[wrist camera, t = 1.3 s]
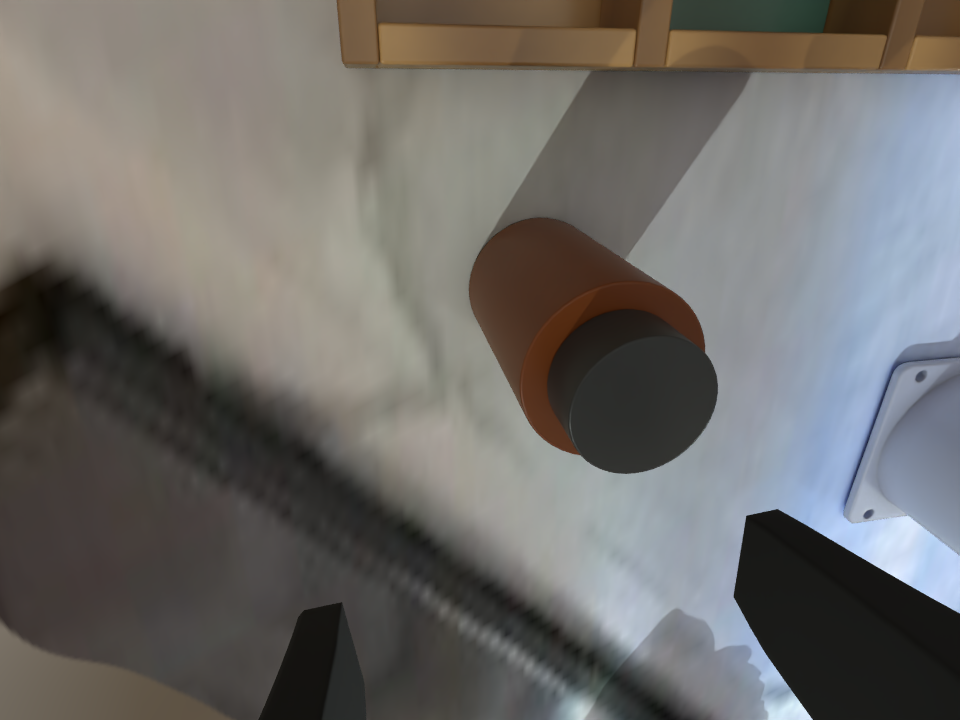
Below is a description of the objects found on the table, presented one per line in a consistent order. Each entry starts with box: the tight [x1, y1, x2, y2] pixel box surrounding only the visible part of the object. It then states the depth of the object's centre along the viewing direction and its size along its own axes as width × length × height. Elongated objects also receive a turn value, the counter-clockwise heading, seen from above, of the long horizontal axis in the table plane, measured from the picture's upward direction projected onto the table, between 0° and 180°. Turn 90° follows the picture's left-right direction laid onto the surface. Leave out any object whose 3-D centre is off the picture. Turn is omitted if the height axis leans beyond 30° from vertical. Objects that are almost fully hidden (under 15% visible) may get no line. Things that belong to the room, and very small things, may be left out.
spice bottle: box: [469, 218, 718, 474], centre depth 15 cm, size 4×4×8 cm
